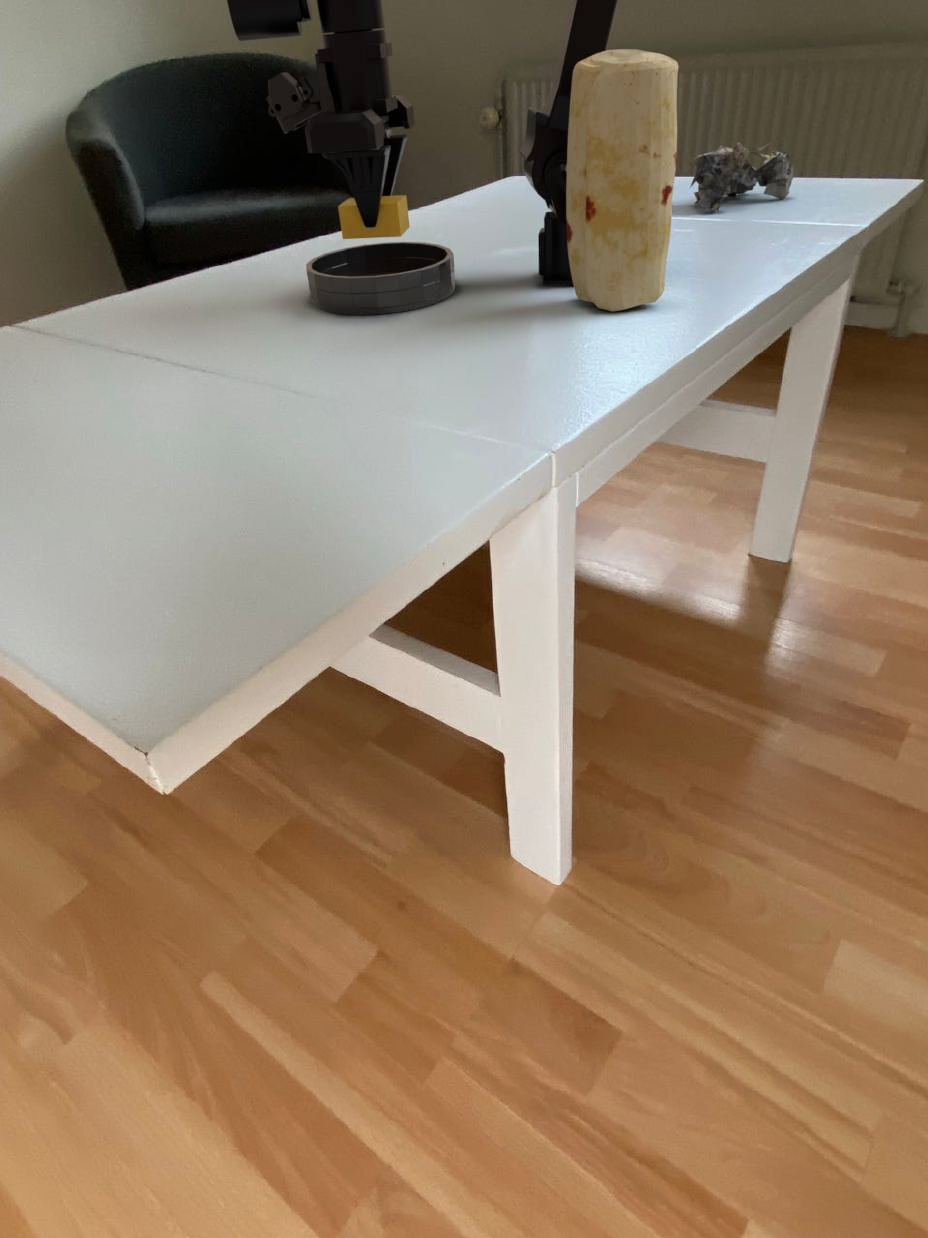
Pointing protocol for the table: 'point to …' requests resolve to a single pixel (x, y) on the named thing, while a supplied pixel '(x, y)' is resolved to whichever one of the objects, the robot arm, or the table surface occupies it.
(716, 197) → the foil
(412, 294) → the pan
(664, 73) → the food model
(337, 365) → the table surface
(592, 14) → the robot arm
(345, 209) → the sponge
